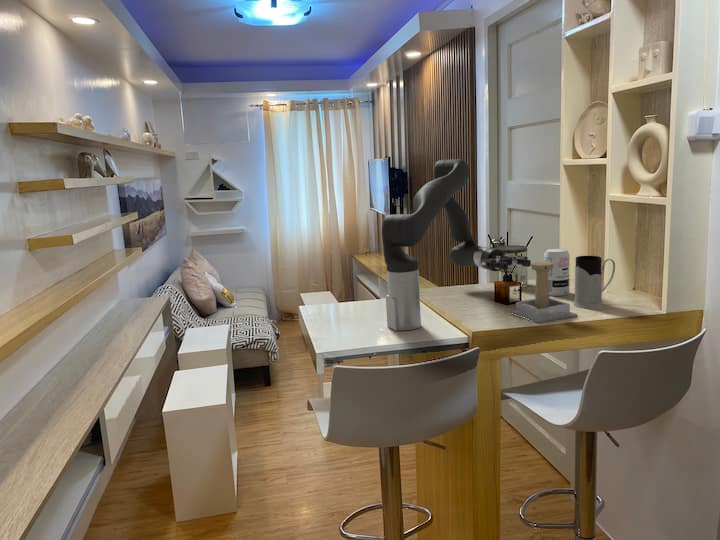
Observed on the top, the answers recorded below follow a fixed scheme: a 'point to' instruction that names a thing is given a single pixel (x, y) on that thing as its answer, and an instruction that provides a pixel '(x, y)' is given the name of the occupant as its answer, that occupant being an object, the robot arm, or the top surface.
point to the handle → (542, 283)
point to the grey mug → (589, 281)
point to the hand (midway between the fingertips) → (518, 265)
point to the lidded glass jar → (519, 271)
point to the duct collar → (543, 311)
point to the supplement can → (558, 271)
